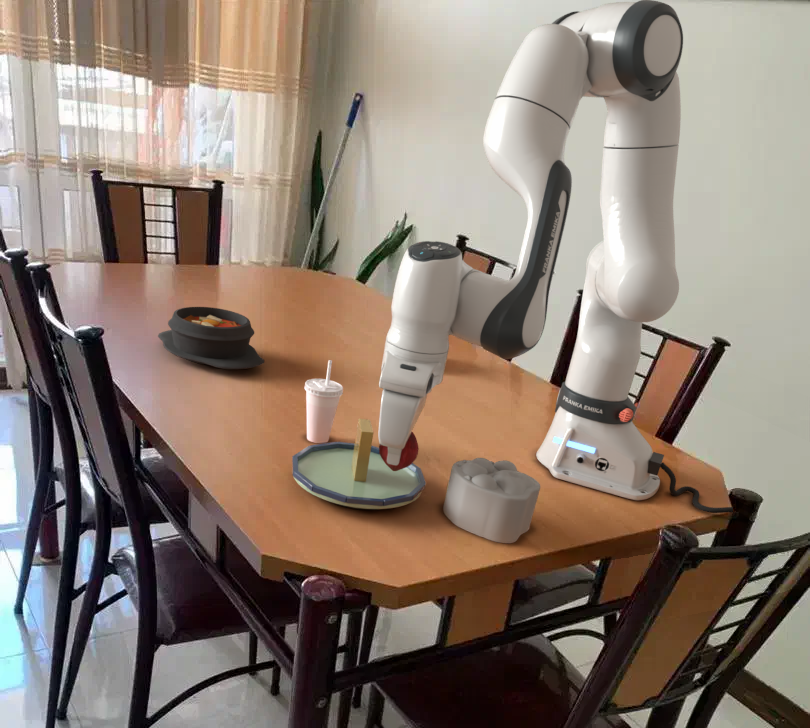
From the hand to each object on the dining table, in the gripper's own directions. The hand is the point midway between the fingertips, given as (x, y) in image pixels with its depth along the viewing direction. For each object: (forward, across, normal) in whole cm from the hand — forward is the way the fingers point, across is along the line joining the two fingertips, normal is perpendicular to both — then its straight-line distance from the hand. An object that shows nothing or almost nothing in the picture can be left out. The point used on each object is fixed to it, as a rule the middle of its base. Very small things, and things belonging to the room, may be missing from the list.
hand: (397, 454), depth 119 cm
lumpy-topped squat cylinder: (+7, +1, +15) cm, 16 cm away
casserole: (+7, -44, -47) cm, 65 cm away
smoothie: (+7, -15, -16) cm, 23 cm away
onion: (+3, 0, 0) cm, 3 cm away
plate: (+5, 0, -5) cm, 7 cm away
